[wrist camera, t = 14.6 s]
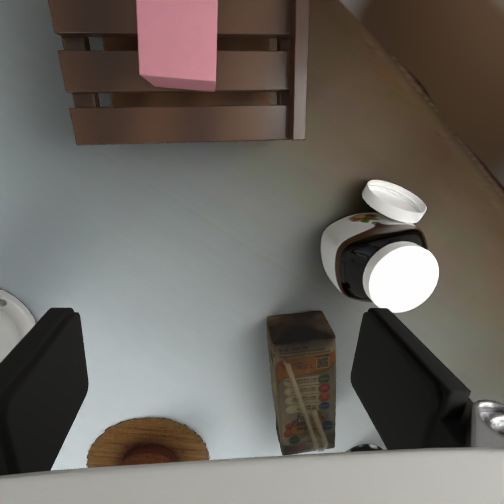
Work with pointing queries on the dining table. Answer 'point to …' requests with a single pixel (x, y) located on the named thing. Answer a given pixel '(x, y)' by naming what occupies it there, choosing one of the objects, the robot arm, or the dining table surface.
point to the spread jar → (381, 251)
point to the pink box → (178, 43)
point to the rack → (183, 100)
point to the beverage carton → (303, 381)
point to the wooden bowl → (146, 444)
